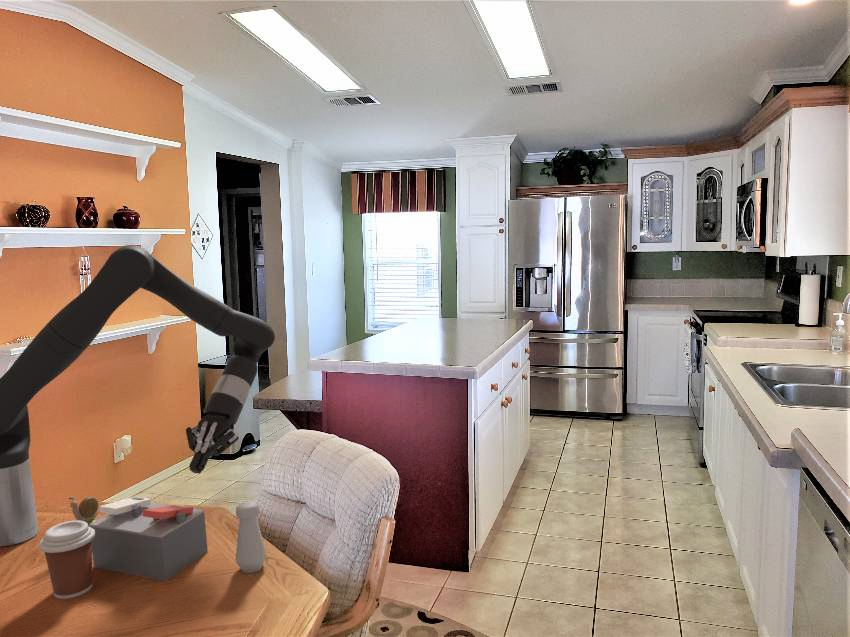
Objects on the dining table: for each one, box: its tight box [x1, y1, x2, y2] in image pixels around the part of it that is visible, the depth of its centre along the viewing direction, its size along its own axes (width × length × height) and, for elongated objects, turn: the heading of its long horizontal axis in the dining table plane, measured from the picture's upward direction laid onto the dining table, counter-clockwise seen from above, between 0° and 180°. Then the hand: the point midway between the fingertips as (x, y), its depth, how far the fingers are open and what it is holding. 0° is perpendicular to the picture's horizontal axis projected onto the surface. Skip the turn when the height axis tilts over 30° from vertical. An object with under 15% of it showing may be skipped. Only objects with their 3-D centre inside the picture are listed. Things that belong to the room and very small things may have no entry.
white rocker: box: [98, 496, 152, 515], centre depth 133 cm, size 4×9×1 cm, turn 159°
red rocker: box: [142, 504, 194, 519], centre depth 129 cm, size 4×9×1 cm, turn 159°
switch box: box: [89, 502, 209, 582], centre depth 132 cm, size 18×12×11 cm, turn 69°
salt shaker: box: [235, 501, 267, 574], centre depth 126 cm, size 6×6×13 cm
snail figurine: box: [68, 496, 99, 527], centre depth 139 cm, size 5×6×12 cm
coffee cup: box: [38, 519, 95, 600], centre depth 121 cm, size 9×9×12 cm
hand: (194, 471), depth 136 cm, fingers closed
